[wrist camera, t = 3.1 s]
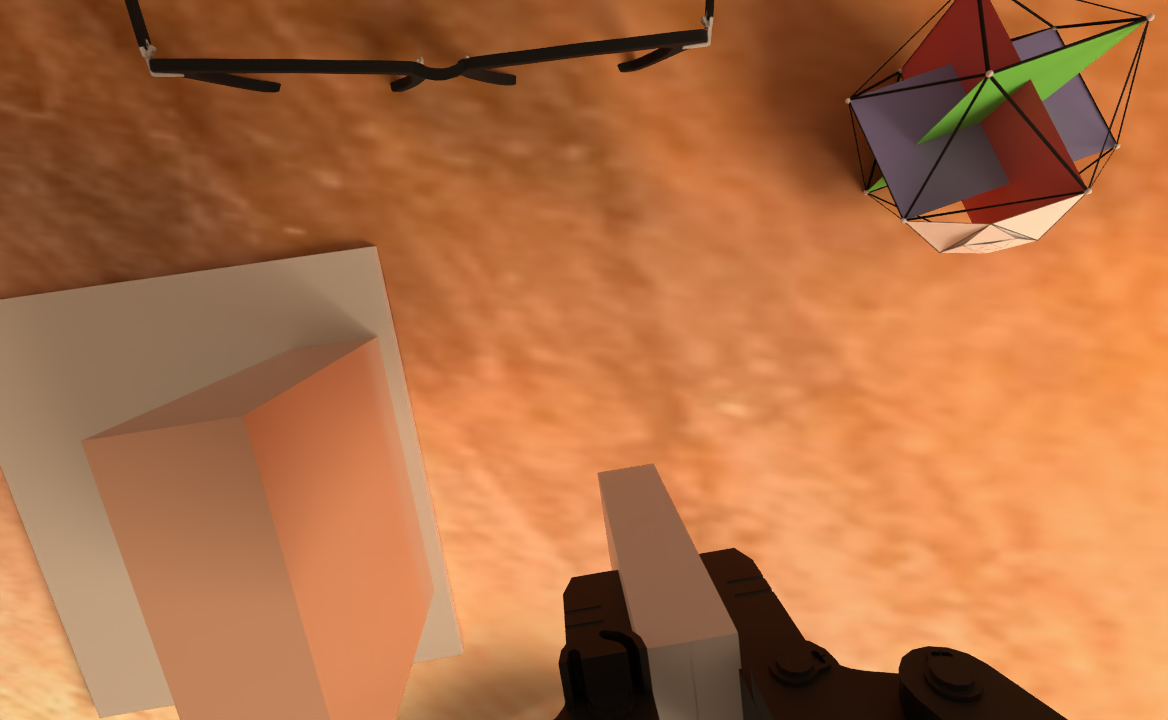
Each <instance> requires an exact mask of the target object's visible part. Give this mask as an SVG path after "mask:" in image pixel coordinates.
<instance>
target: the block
mask: <svg viewBox="0 0 1168 720" xmlns="http://www.w3.org/2000/svg"><path fill="white" fill-rule="evenodd" d="M81 443H82V446H83V449H84V452H85V454H86V457H87V460H88V463H89V466H90V468H91V471H92V474H93V477H94V480H95V482H96V485H97V488H98V491H99V494H100V496H101V499H102V502H103V505H104V508H105V510H106V513H107V516H108V519H109V522H110V525H111V527H112V530H113V533H114V536H115V539H116V541H117V544H118V547H119V550H120V553H121V555H122V558H123V561H124V564H125V567H126V569H127V572H128V575H129V578H130V581H131V583H132V586H133V589H134V592H135V595H136V597H137V600H138V603H139V606H140V609H141V611H142V614H143V617H144V620H145V623H146V625H147V628H148V631H149V634H150V637H151V639H152V642H153V645H154V648H155V651H156V654H157V656H158V659H159V662H160V665H161V668H162V670H163V673H164V676H165V679H166V682H167V684H168V687H169V690H170V693H171V696H172V698H173V701H174V704H175V707H176V710H177V712H178V715H179V718H180V720H396V716H397V713H398V710H399V706H400V703H401V700H402V696H403V693H404V690H405V687H406V683H407V680H408V677H409V673H410V670H411V667H412V663H413V660H414V657H415V654H416V650H417V647H418V644H419V640H420V637H421V634H422V630H423V627H424V624H425V621H426V617H427V614H428V611H429V607H430V604H431V601H432V597H433V594H434V591H435V590H434V585H433V581H432V576H431V572H430V568H429V563H428V559H427V554H426V550H425V545H424V541H423V536H422V532H421V527H420V523H419V518H418V514H417V510H416V505H415V501H414V496H413V492H412V487H411V483H410V478H409V474H408V469H407V465H406V460H405V456H404V452H403V447H402V443H401V438H400V434H399V429H398V425H397V420H396V416H395V411H394V407H393V402H392V398H391V394H390V389H389V385H388V380H387V376H386V371H385V367H384V362H383V358H382V353H381V349H380V344H379V340H378V336H376V337H369V338H363V339H356V340H349V341H342V342H336V343H329V344H322V345H316V346H309V347H302V348H296V349H290V350H287V351H285V352H283V353H280V354H278V355H276V356H274V357H271V358H269V359H267V360H264V361H262V362H260V363H258V364H255V365H253V366H251V367H248V368H246V369H244V370H242V371H239V372H237V373H235V374H233V375H230V376H228V377H226V378H223V379H221V380H219V381H217V382H214V383H212V384H210V385H207V386H205V387H203V388H201V389H198V390H196V391H194V392H191V393H189V394H187V395H185V396H182V397H180V398H178V399H176V400H173V401H171V402H169V403H166V404H164V405H162V406H160V407H157V408H155V409H153V410H150V411H148V412H146V413H144V414H141V415H139V416H137V417H134V418H132V419H130V420H128V421H125V422H123V423H121V424H118V425H116V426H114V427H112V428H109V429H107V430H105V431H103V432H100V433H98V434H96V435H93V436H91V437H89V438H87V439H84V440H82V441H81Z"/></svg>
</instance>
